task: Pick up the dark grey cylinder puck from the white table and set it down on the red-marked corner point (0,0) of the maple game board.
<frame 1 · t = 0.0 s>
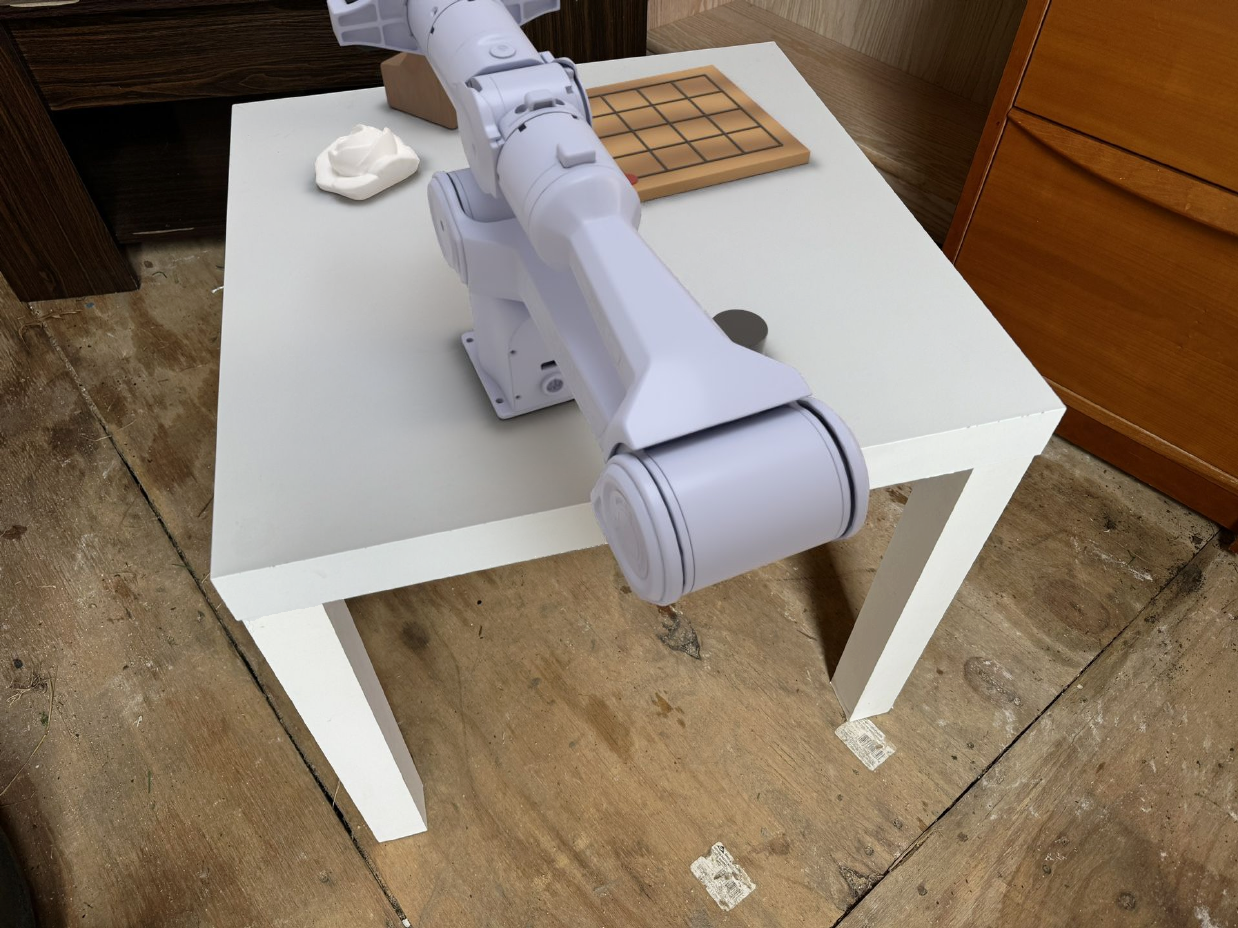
rose: (369, 177, 82), on the table
board: (668, 135, 87), on the table
dark grey cylinder puck: (734, 359, 65), on the table
wooden block: (434, 112, 91), on the table
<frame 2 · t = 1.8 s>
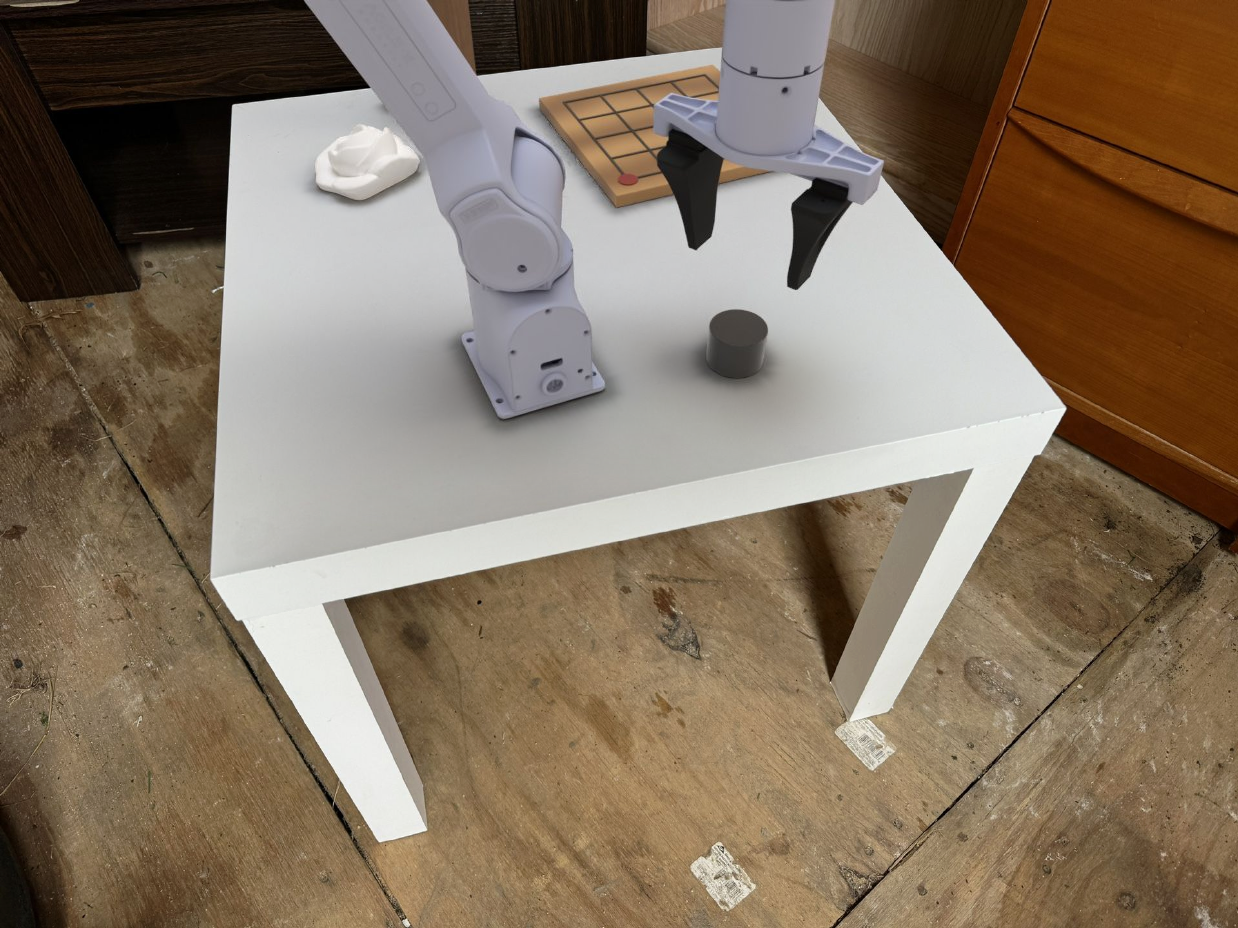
hand: (748, 261, 59), 8 cm above the table, tool pointing down, fingers open, 7 cm apart
nothing on the table moved.
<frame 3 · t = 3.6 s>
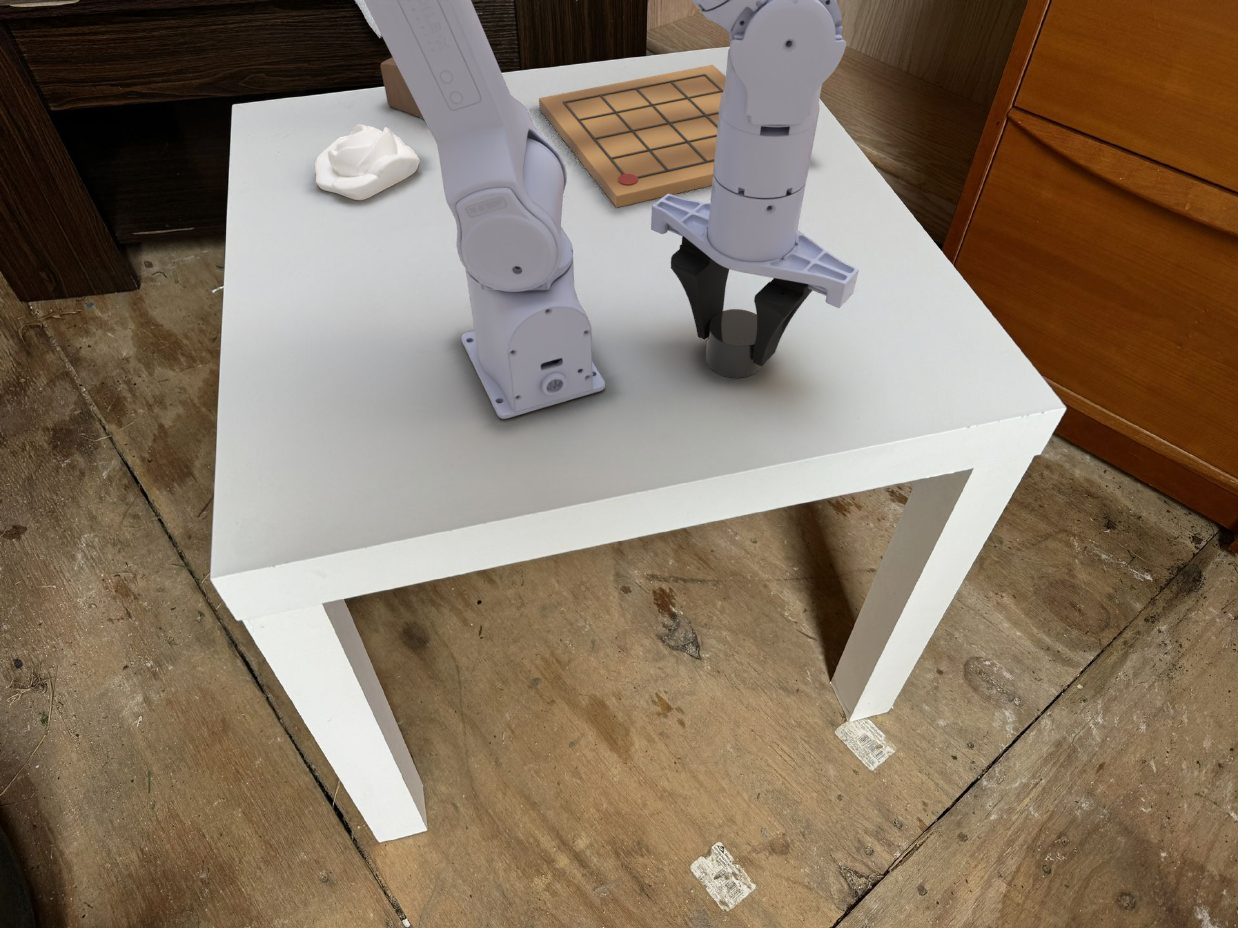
hand: (736, 344, 64), 1 cm above the table, tool pointing down, fingers closed on dark grey cylinder puck, 4 cm apart
dark grey cylinder puck: (734, 358, 65), on the table, touching gripper
everything else where it was.
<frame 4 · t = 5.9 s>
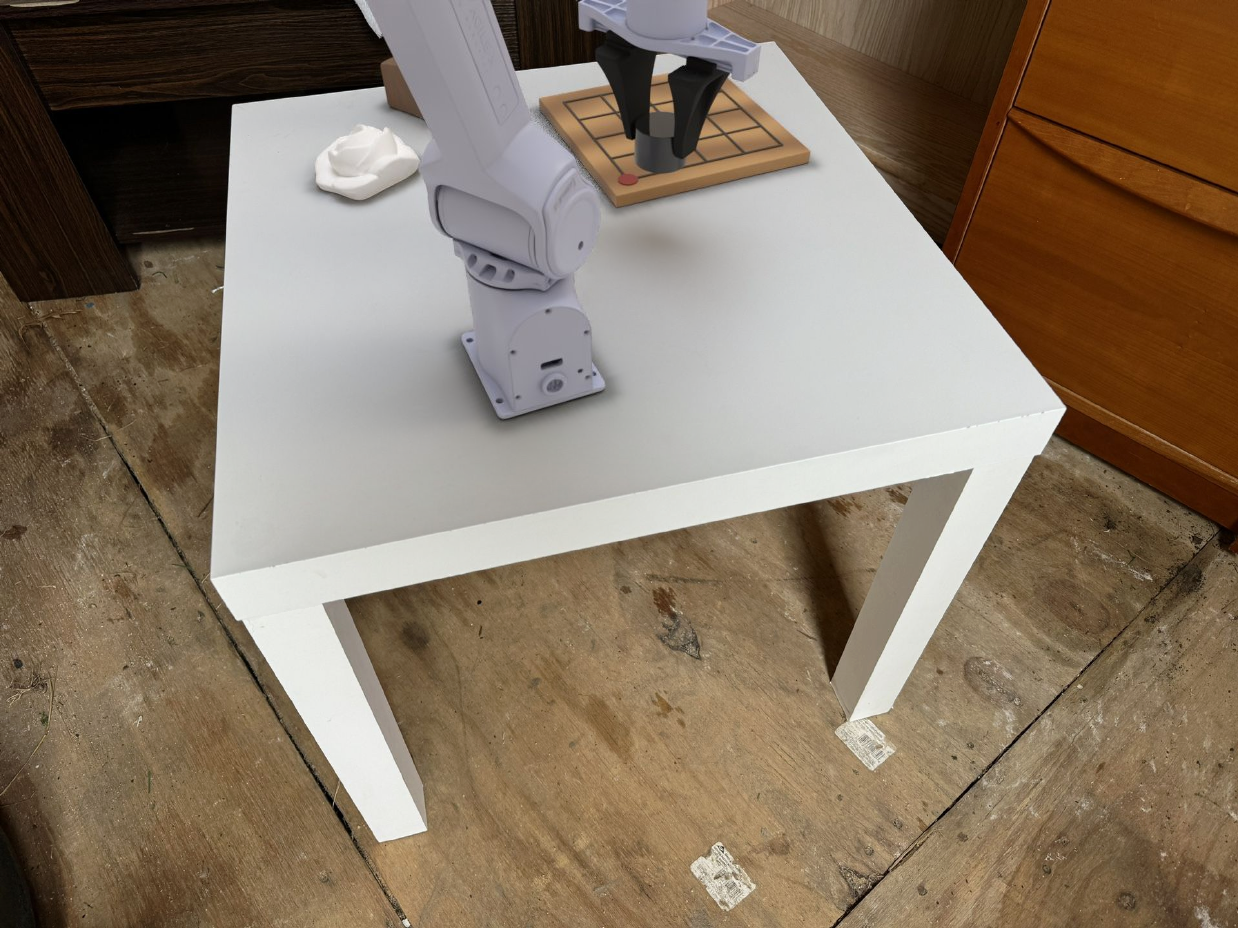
hand: (661, 144, 69), 8 cm above the table, tool pointing down, fingers closed on dark grey cylinder puck, 4 cm apart
dark grey cylinder puck: (660, 160, 70), point 7 cm above the table, touching gripper
everything else where it was.
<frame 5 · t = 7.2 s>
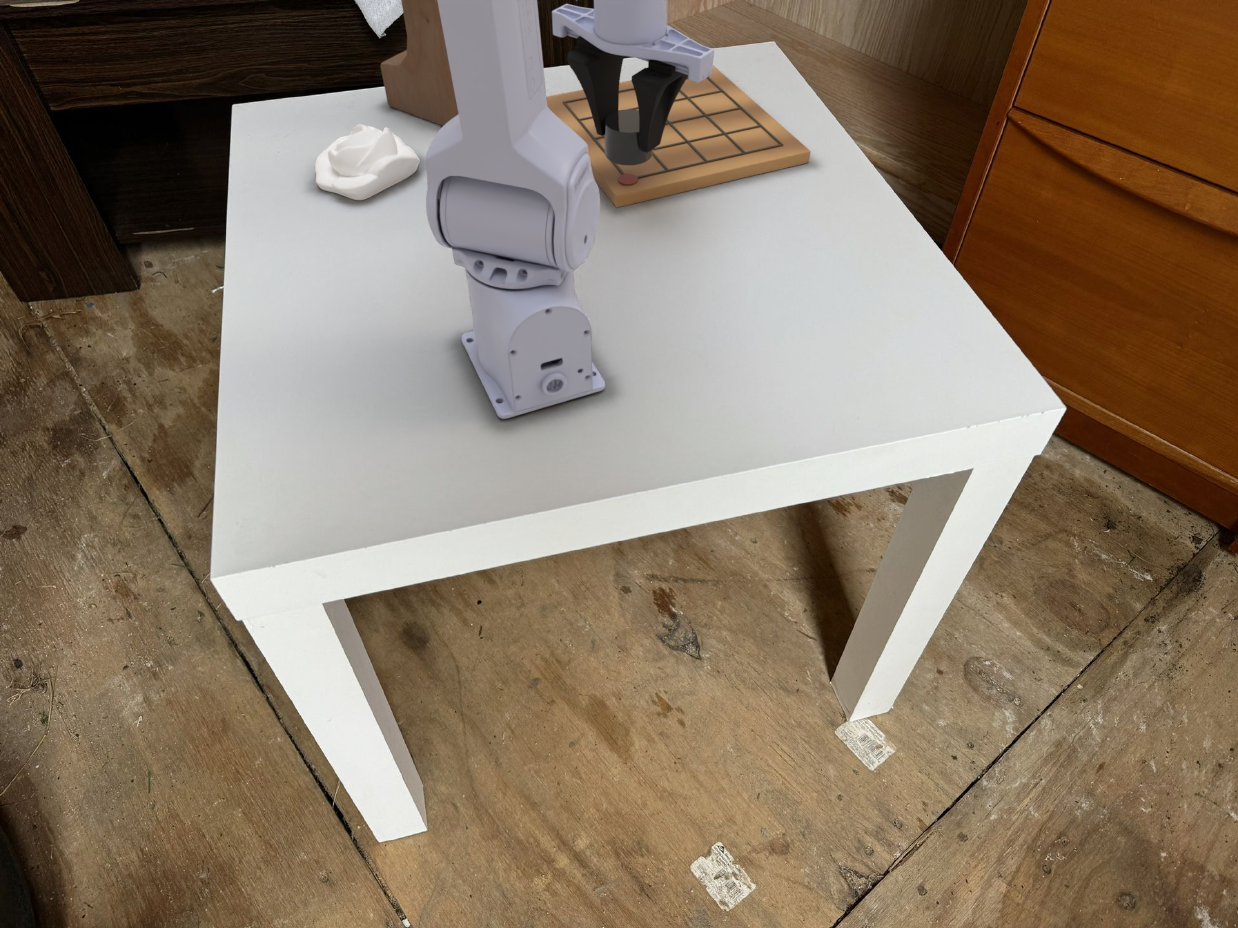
hand: (628, 139, 77), 5 cm above the table, tool pointing down, fingers closed on dark grey cylinder puck, 4 cm apart
dark grey cylinder puck: (628, 153, 78), point 4 cm above the table, touching gripper
everything else where it was.
when the fingers open (3 cm above the table, at t = 8.2 s): dark grey cylinder puck stays where it is, resting on board.
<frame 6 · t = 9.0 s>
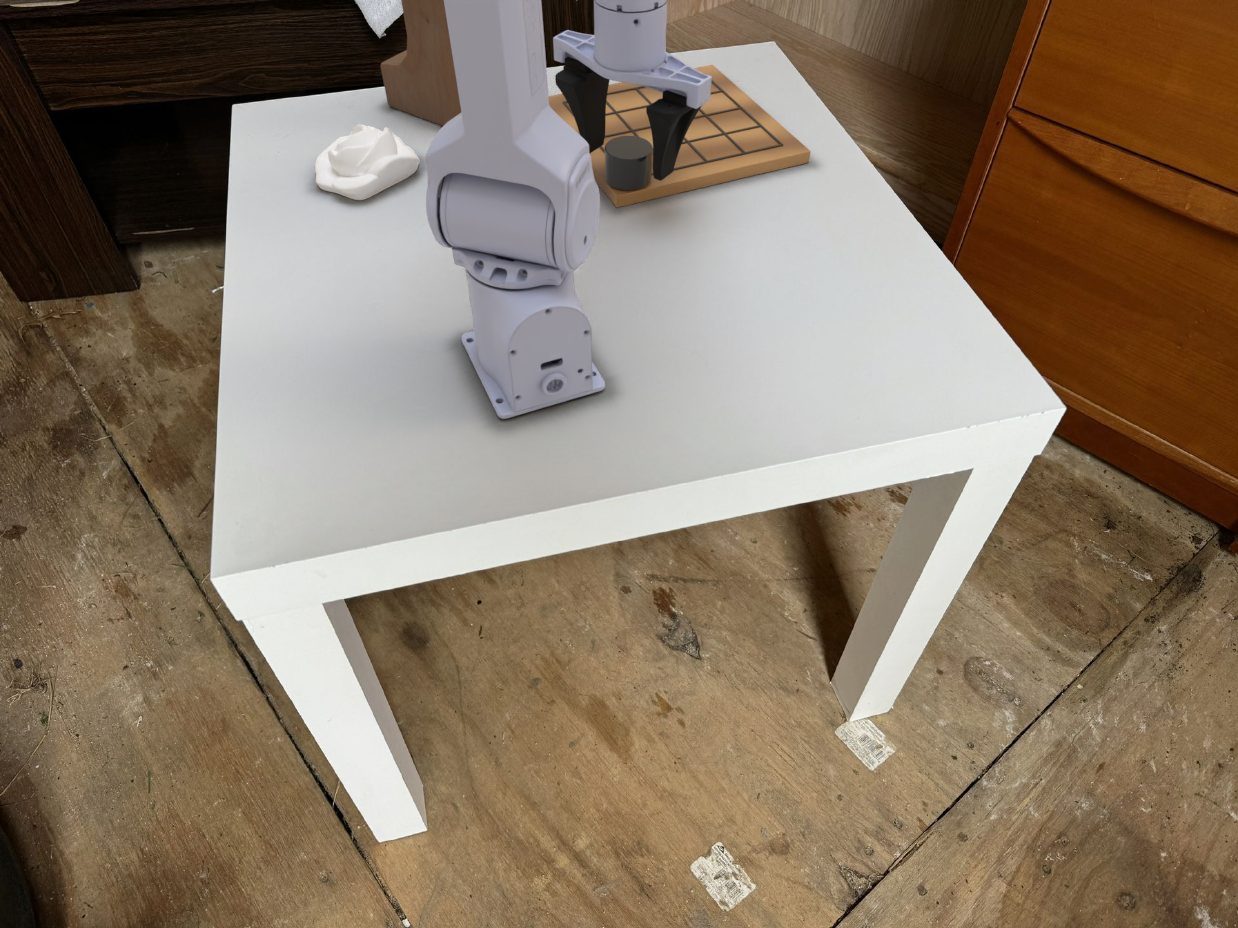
hand: (628, 161, 78), 3 cm above the table, tool pointing down, fingers open, 7 cm apart
dark grey cylinder puck: (628, 178, 79), point 1 cm above the table, touching board
everything else where it was.
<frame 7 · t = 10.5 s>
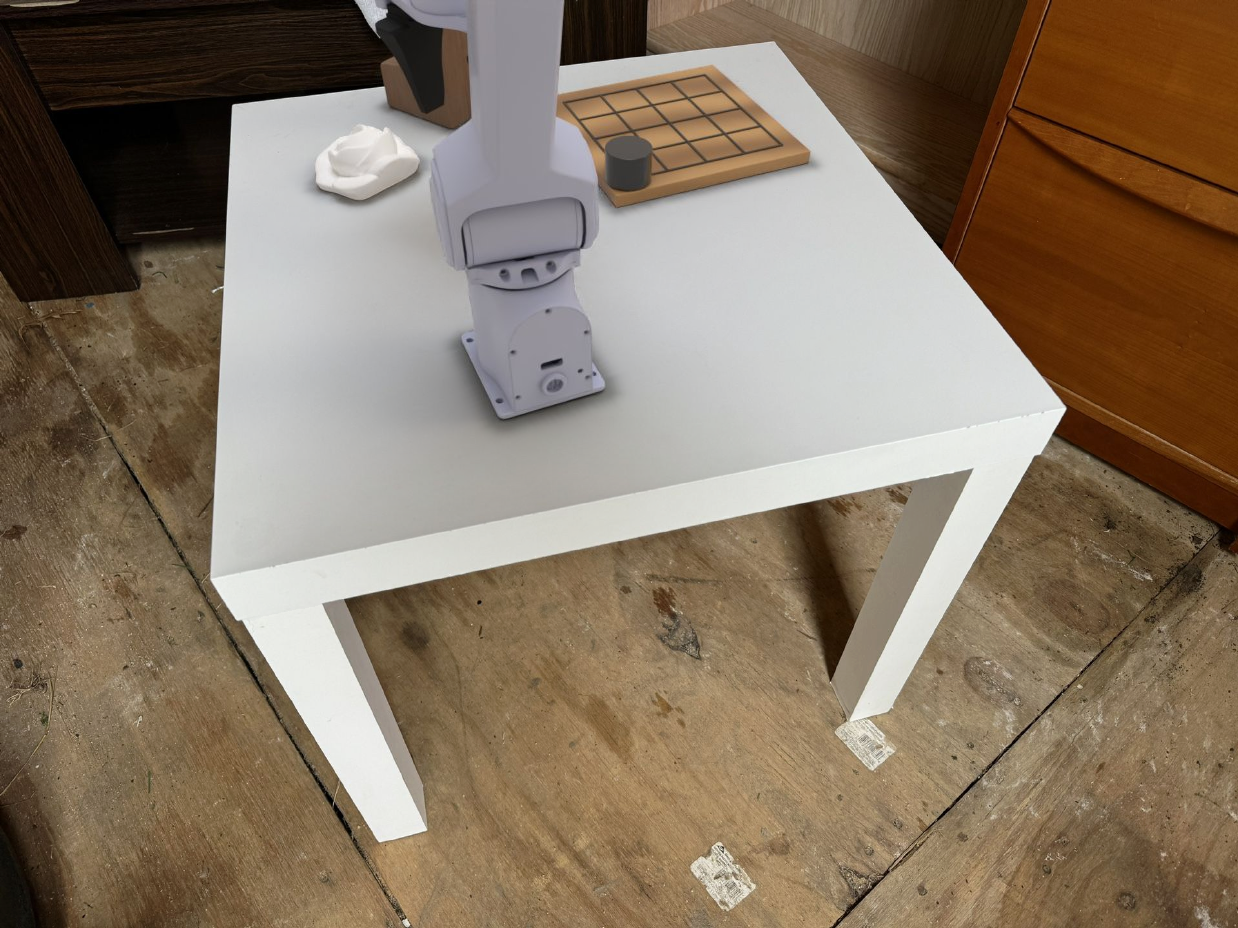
hand: (467, 122, 70), 9 cm above the table, tool pointing down, fingers open, 7 cm apart
nothing on the table moved.
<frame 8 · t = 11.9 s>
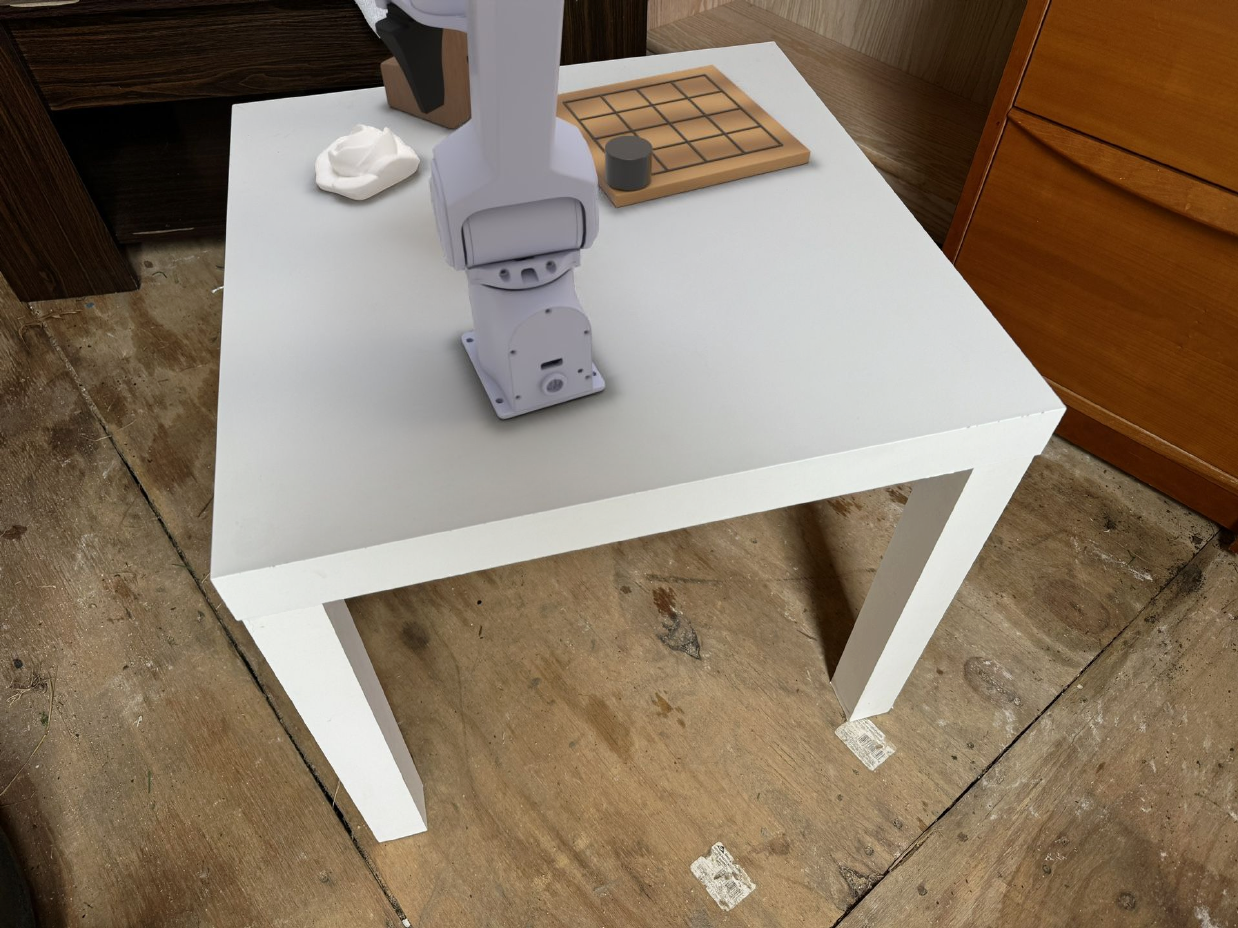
hand: (467, 122, 70), 9 cm above the table, tool pointing down, fingers open, 7 cm apart
nothing on the table moved.
at the end: dark grey cylinder puck 0.1 cm from the target spot on the board, point 1.3 cm above the board's base; dark grey cylinder puck tilted 0°; the gripper is holding nothing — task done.
